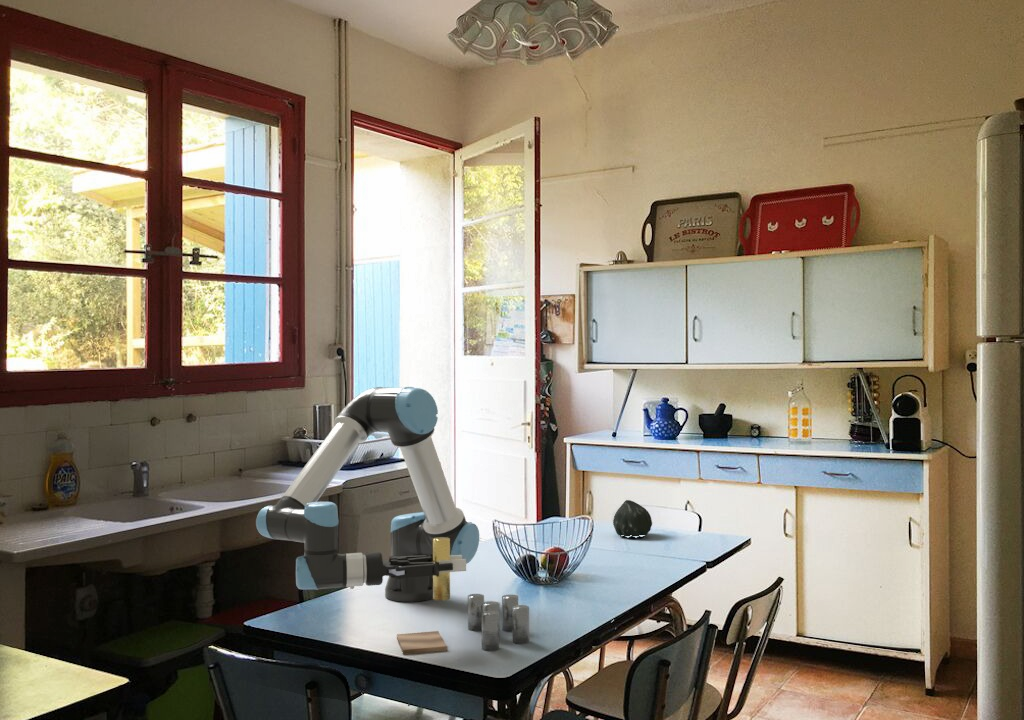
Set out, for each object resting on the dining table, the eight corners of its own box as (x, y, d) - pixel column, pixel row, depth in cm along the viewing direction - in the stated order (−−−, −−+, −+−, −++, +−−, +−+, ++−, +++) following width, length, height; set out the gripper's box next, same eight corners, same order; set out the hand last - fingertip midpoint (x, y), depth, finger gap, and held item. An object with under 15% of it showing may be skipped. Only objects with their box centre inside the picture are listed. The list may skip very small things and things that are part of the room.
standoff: (431, 596, 208) (431, 537, 208) (448, 595, 209) (448, 536, 209) (434, 601, 204) (434, 540, 204) (451, 599, 205) (451, 539, 205)
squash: (657, 519, 339) (631, 490, 340) (660, 527, 324) (633, 497, 325) (630, 543, 340) (604, 514, 341) (631, 552, 325) (604, 522, 326)
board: (396, 638, 208) (396, 634, 208) (438, 635, 211) (438, 631, 211) (403, 654, 197) (403, 649, 197) (446, 650, 199) (446, 646, 199)
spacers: (466, 626, 218) (466, 594, 218) (513, 622, 221) (512, 591, 221) (484, 651, 198) (483, 616, 198) (534, 647, 201) (534, 612, 201)
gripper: (361, 577, 210) (456, 570, 216) (368, 594, 193) (471, 587, 199) (361, 545, 210) (456, 540, 216) (368, 560, 193) (471, 554, 199)
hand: (463, 562), depth 208 cm, fingers closed on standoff, 4 cm apart
